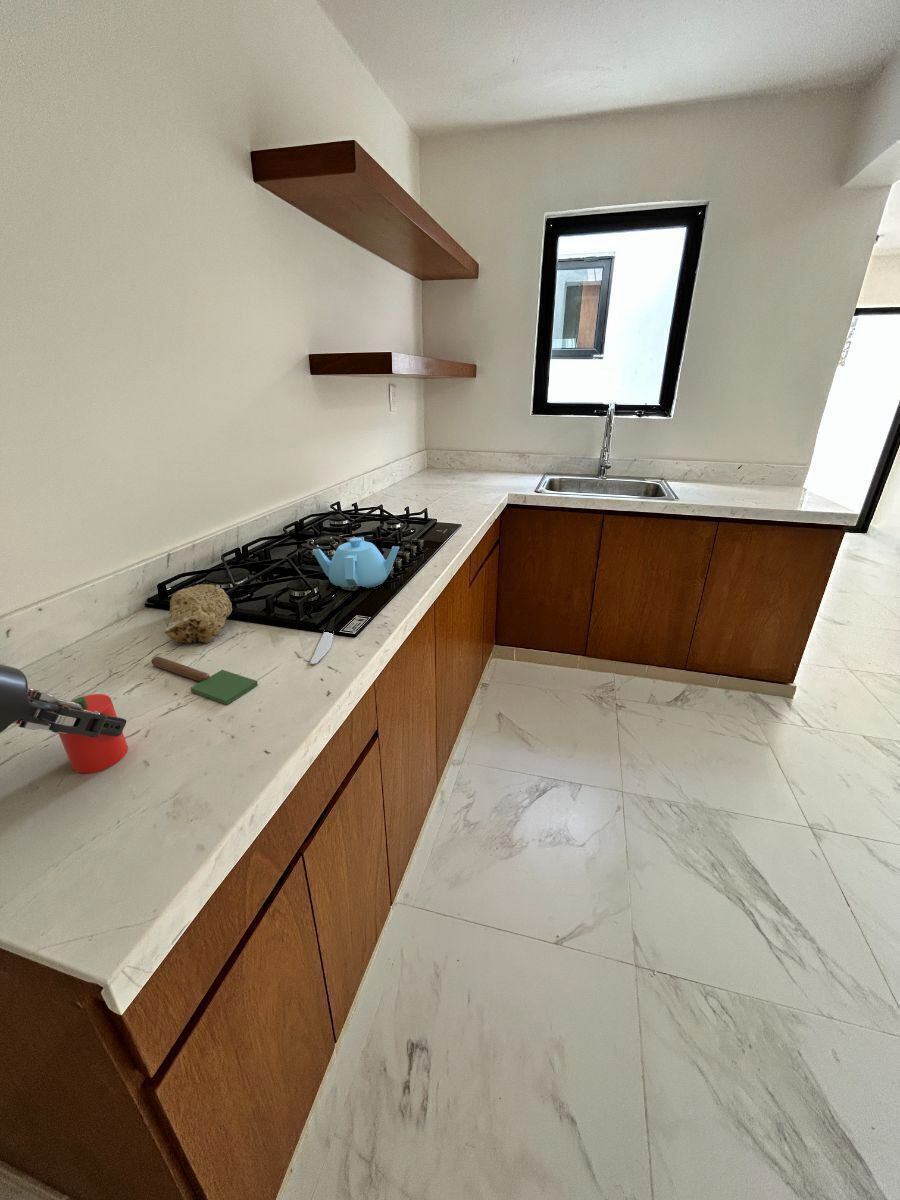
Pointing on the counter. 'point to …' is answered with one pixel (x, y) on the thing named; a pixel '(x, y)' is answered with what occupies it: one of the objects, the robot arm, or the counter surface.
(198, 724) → the counter surface
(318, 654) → the butter knife
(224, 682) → the spatula
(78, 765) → the pepper
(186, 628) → the sponge
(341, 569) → the teapot
